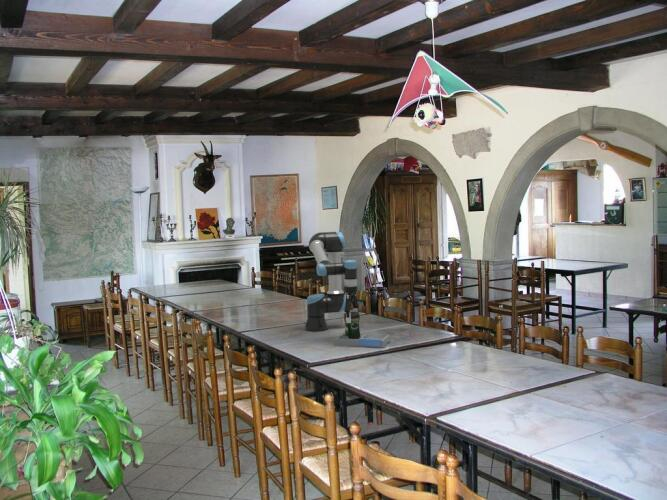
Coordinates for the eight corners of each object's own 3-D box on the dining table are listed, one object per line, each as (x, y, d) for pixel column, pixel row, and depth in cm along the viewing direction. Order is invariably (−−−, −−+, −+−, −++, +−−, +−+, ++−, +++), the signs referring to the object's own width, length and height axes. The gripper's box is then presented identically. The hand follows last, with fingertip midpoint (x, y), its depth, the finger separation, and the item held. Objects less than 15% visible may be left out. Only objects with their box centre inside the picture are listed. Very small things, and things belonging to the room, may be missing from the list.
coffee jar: (356, 340, 400) (356, 310, 398) (362, 342, 392) (361, 312, 391) (342, 341, 396) (341, 311, 394) (348, 344, 388) (347, 313, 387)
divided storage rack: (343, 339, 403) (342, 331, 402) (390, 341, 393) (390, 333, 392) (333, 345, 386) (333, 337, 386) (383, 348, 376) (383, 340, 376)
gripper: (351, 283, 404) (352, 317, 406) (338, 288, 381) (339, 324, 382) (362, 283, 402) (363, 317, 403) (350, 288, 378) (351, 324, 380)
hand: (352, 320), depth 393 cm, fingers open, 13 cm apart
